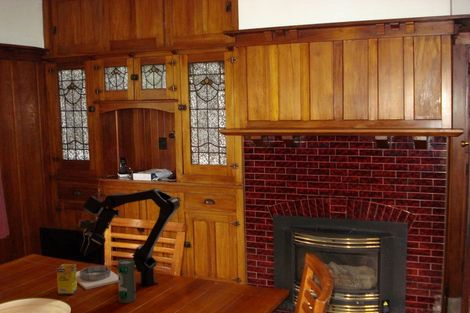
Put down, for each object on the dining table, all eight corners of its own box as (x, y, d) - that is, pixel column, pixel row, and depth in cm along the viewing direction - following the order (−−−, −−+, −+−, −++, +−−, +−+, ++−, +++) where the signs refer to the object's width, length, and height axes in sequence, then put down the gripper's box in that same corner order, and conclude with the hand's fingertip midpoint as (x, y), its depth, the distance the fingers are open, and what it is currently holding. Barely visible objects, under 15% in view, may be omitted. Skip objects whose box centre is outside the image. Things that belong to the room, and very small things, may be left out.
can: (118, 298, 201) (116, 260, 200) (134, 296, 204) (132, 258, 202) (120, 303, 196) (119, 265, 194) (136, 301, 198) (135, 263, 196)
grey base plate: (123, 281, 221) (123, 278, 221) (85, 289, 212) (85, 287, 212) (104, 268, 239) (103, 266, 239) (69, 275, 230) (68, 273, 230)
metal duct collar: (114, 276, 224) (114, 271, 223) (86, 283, 217) (85, 277, 216) (104, 269, 234) (103, 264, 234) (76, 275, 227) (76, 269, 226)
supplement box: (72, 295, 206) (71, 268, 204) (57, 295, 206) (56, 268, 205) (77, 290, 212) (76, 263, 210) (63, 290, 212) (61, 263, 210)
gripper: (83, 209, 224) (63, 241, 220) (90, 213, 207) (68, 247, 203) (105, 222, 227) (85, 253, 224) (114, 227, 210) (93, 261, 207)
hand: (82, 253), depth 214 cm, fingers open, 9 cm apart
